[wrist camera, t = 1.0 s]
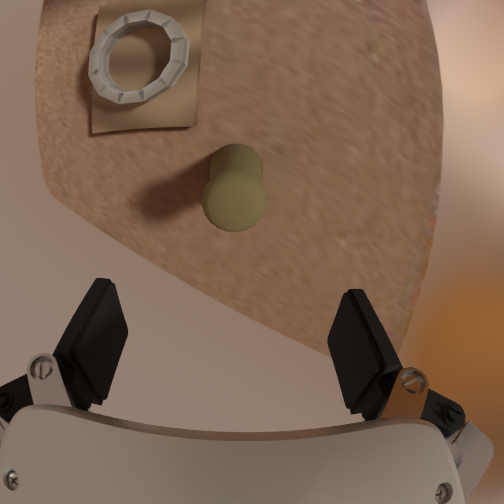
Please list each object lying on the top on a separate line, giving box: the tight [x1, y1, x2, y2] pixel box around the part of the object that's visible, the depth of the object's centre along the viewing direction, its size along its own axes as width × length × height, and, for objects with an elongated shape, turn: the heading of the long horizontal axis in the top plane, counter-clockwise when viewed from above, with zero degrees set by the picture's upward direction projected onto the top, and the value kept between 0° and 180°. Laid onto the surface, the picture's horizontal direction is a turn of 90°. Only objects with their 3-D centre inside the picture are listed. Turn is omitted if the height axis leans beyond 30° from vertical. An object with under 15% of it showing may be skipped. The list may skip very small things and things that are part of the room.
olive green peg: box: [202, 144, 267, 232], centre depth 25 cm, size 6×6×11 cm
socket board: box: [88, 0, 206, 133], centre depth 20 cm, size 16×12×4 cm
